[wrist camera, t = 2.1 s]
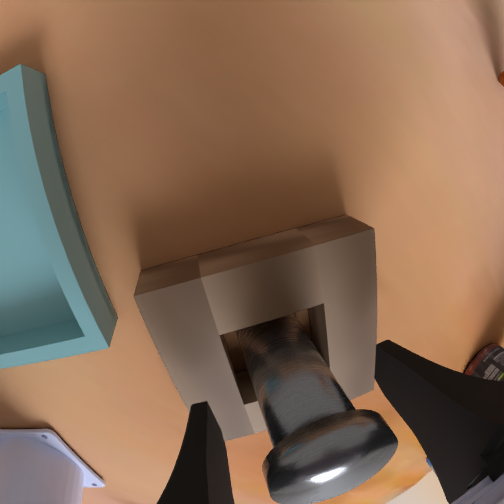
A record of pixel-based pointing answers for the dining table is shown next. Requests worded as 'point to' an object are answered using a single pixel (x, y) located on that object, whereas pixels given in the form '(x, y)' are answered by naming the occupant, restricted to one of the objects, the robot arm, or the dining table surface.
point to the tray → (42, 238)
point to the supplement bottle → (488, 363)
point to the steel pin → (309, 418)
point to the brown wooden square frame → (264, 311)
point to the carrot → (501, 78)
